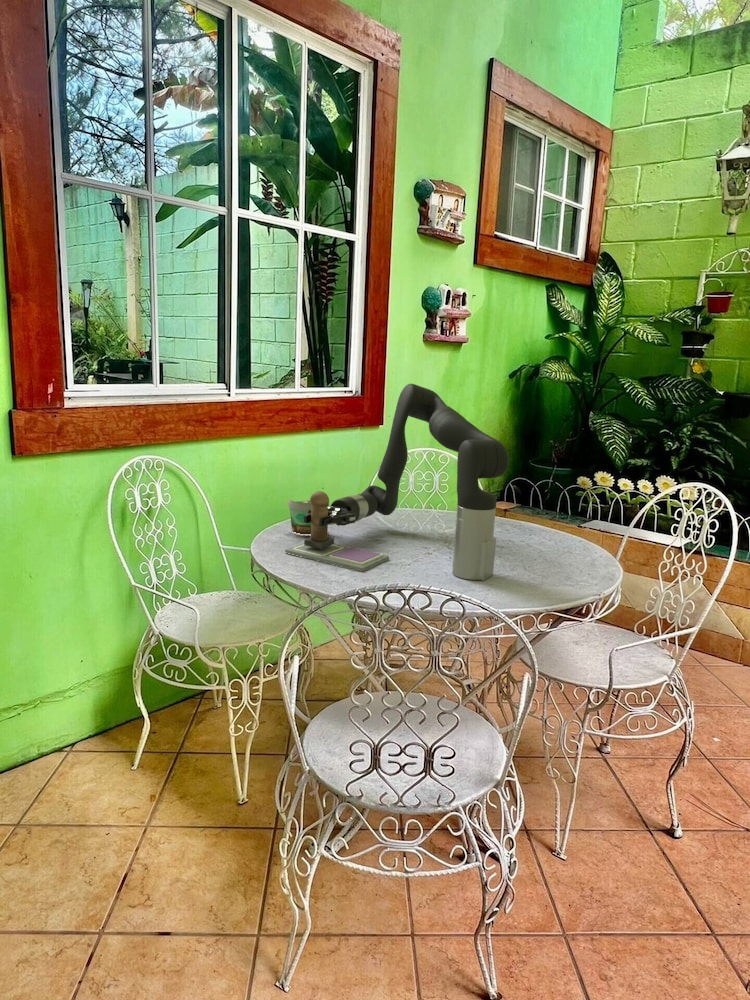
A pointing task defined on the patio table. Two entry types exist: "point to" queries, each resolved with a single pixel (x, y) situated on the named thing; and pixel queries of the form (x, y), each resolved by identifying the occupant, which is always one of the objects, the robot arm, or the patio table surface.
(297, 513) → the food container
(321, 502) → the stamp
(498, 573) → the patio table surface
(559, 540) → the patio table surface
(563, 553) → the patio table surface
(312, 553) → the stamping board
